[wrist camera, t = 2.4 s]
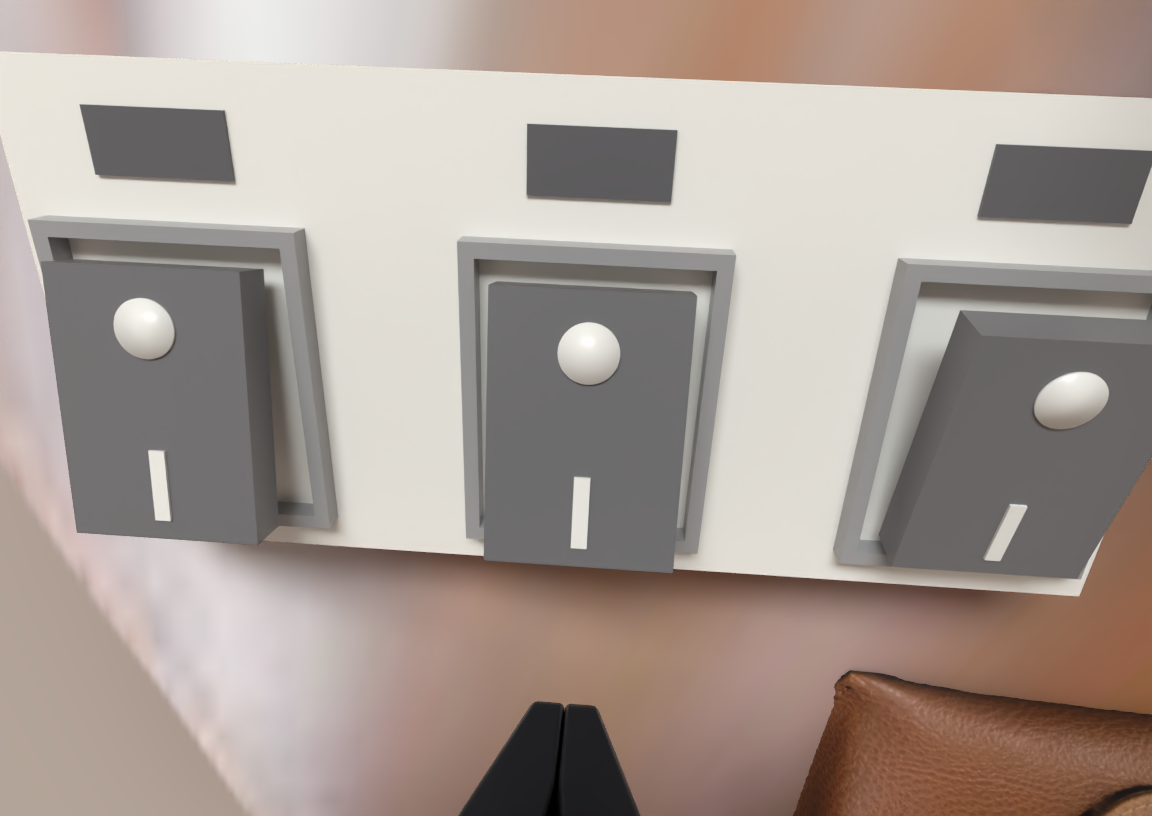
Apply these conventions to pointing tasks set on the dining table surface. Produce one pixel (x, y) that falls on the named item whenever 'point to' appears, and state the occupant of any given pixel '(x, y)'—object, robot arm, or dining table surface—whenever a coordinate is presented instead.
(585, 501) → the rocker middle
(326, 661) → the dining table surface
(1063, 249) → the power strip
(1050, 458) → the rocker
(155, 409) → the rocker
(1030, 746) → the sunglasses case
